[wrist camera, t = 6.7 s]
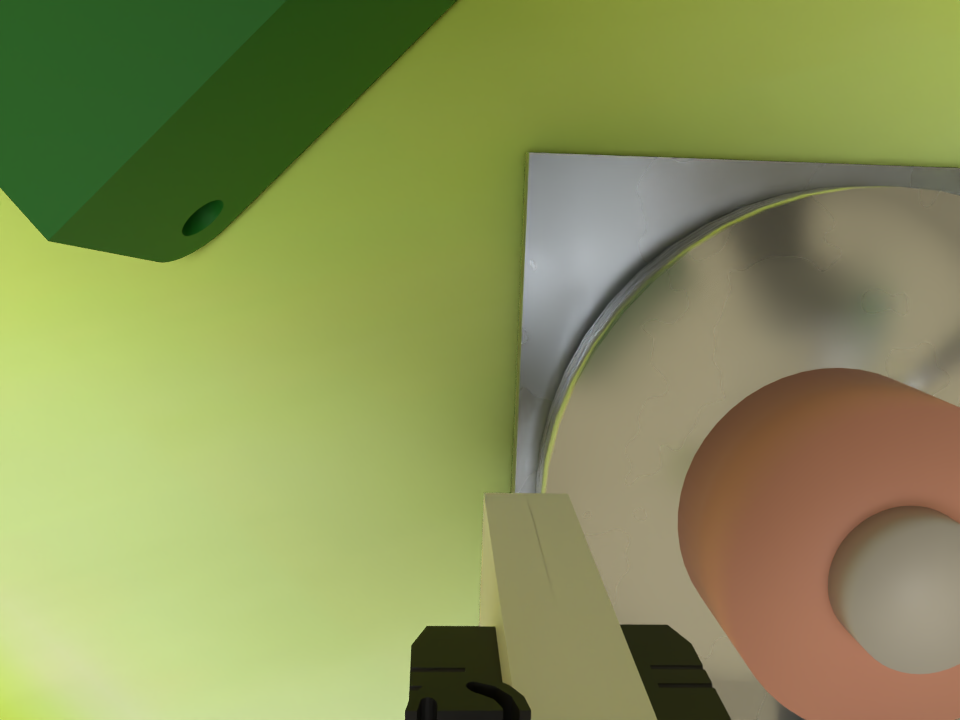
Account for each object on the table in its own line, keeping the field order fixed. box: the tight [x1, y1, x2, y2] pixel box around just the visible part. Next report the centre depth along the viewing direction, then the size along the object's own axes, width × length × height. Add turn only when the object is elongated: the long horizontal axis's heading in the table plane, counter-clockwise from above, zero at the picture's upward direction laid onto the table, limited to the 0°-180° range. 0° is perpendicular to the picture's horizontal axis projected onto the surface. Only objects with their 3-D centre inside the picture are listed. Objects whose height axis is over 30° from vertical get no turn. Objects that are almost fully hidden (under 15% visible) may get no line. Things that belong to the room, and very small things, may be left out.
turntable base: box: [511, 152, 960, 493], centre depth 18 cm, size 16×16×12 cm
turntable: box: [536, 186, 960, 720], centre depth 19 cm, size 15×15×8 cm
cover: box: [678, 368, 960, 720], centre depth 19 cm, size 7×7×4 cm
